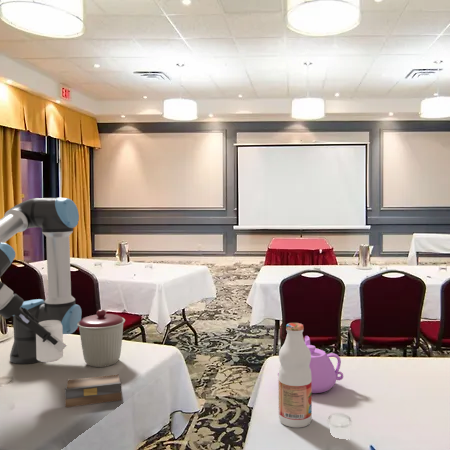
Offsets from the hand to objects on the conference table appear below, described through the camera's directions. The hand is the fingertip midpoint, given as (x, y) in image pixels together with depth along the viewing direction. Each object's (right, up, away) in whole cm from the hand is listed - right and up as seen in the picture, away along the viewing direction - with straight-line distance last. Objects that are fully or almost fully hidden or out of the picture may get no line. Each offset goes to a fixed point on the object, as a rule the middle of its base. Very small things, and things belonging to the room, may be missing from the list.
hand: (61, 345), depth 154 cm
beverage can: (-3, -4, -1) cm, 6 cm away
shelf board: (+10, -16, +1) cm, 19 cm away
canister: (+6, -15, +30) cm, 33 cm away
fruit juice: (+74, -17, -19) cm, 78 cm away
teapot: (+83, -15, +7) cm, 85 cm away
